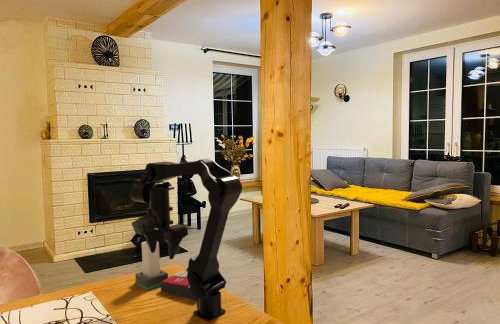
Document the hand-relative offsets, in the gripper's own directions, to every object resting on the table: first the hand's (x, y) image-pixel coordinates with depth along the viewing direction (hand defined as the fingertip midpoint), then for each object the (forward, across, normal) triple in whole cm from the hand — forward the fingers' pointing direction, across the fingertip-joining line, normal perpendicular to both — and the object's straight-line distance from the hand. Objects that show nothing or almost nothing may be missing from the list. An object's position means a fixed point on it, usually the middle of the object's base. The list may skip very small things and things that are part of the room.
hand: (162, 255), depth 111 cm
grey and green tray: (+13, -12, +4) cm, 18 cm away
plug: (+12, -12, +4) cm, 17 cm away
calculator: (+14, +2, +9) cm, 16 cm away
